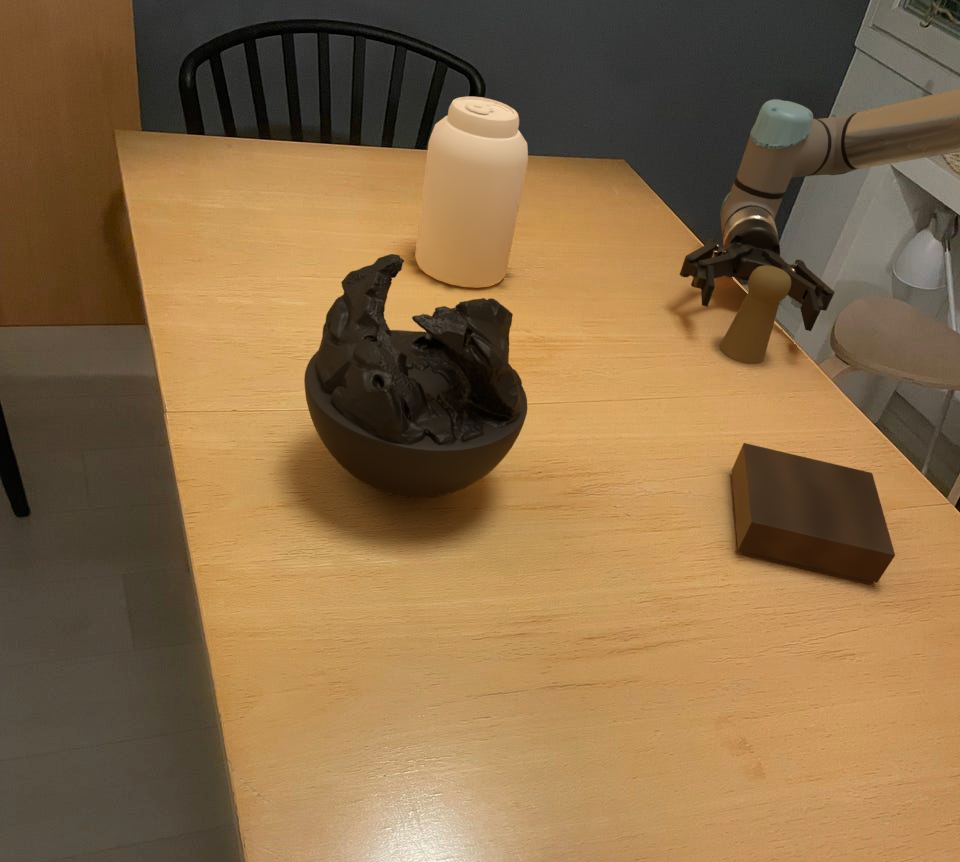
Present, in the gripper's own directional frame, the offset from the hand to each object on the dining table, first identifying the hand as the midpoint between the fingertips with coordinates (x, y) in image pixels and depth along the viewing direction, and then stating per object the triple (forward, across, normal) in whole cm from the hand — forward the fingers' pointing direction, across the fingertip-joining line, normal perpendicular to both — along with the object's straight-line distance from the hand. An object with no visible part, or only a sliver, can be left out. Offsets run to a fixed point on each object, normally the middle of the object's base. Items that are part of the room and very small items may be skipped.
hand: (760, 308), depth 115 cm
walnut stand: (+36, -4, -6) cm, 37 cm away
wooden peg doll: (-1, 0, -6) cm, 7 cm away
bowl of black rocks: (+44, +36, -6) cm, 57 cm away
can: (-6, +39, -6) cm, 40 cm away
